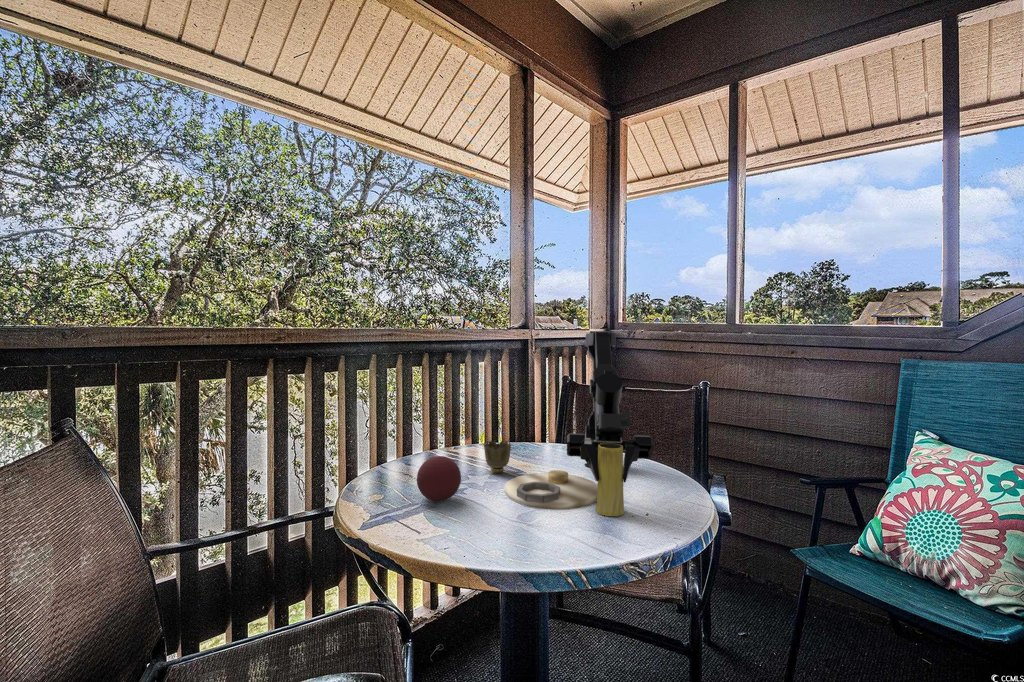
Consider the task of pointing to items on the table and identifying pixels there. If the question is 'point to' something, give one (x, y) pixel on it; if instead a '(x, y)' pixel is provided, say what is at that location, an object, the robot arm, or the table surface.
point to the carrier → (552, 490)
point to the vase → (610, 480)
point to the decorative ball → (438, 478)
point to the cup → (497, 455)
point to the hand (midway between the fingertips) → (611, 480)
